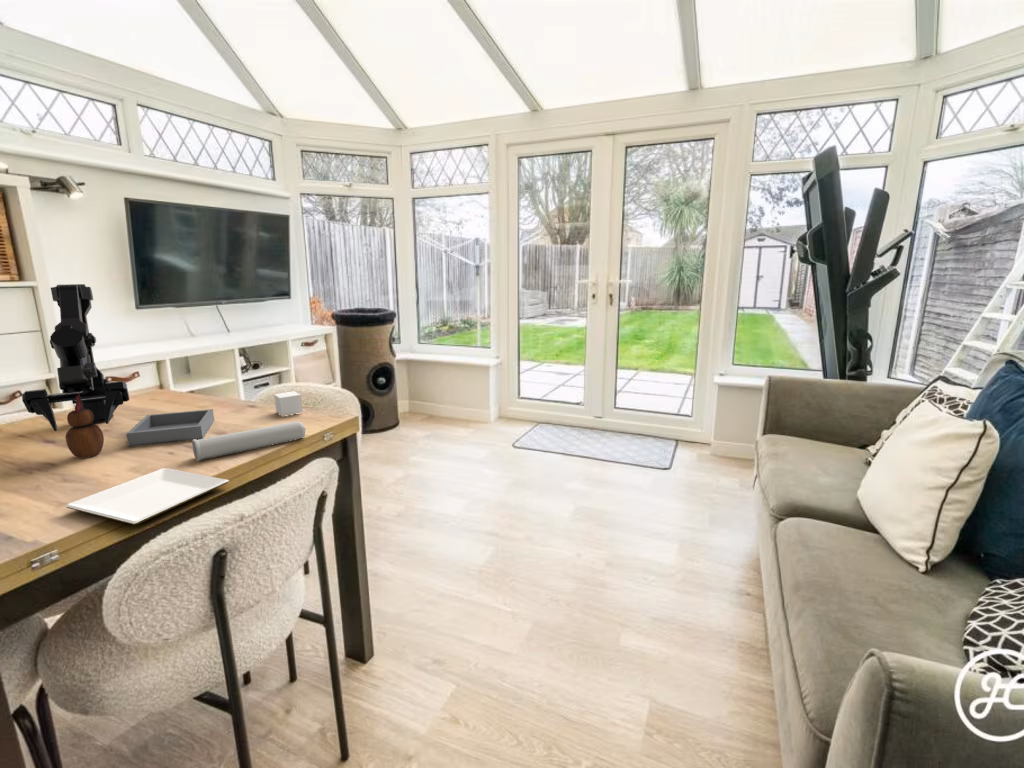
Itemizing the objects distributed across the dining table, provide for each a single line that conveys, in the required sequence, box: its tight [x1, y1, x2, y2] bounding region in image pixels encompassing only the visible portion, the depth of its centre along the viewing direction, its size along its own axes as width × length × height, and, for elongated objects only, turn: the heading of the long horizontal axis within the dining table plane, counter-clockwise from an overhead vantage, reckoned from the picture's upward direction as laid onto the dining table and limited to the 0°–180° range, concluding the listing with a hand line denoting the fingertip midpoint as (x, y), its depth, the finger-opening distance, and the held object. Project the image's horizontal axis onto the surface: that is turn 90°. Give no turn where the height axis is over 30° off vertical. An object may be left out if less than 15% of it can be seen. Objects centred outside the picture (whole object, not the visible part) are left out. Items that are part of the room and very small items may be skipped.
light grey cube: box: [273, 390, 303, 417], centre depth 152 cm, size 6×6×6 cm
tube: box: [191, 421, 307, 462], centre depth 123 cm, size 5×5×25 cm
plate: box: [65, 467, 230, 526], centre depth 96 cm, size 19×19×2 cm
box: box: [125, 408, 215, 448], centre depth 135 cm, size 16×17×4 cm
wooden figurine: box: [65, 393, 105, 459], centre depth 117 cm, size 7×6×15 cm
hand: (81, 426), depth 116 cm, fingers open, 9 cm apart
